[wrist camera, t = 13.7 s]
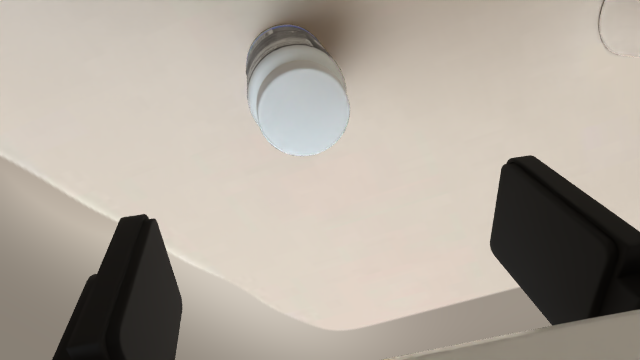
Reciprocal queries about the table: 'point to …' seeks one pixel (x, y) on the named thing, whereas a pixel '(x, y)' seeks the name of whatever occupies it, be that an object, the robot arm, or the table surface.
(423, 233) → the table surface
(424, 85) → the table surface
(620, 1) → the beer glass
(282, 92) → the pill bottle
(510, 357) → the robot arm
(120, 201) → the table surface
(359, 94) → the table surface
